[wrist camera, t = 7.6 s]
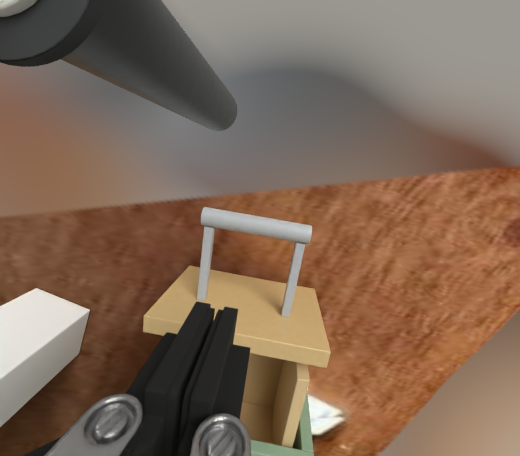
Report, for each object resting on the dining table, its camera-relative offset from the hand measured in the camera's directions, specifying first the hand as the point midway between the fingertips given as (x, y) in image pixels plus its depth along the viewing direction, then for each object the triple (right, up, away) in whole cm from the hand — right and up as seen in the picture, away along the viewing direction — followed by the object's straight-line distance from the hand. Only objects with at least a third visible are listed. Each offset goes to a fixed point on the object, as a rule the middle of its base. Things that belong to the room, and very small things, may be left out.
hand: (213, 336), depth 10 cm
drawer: (+1, -3, +13) cm, 14 cm away
